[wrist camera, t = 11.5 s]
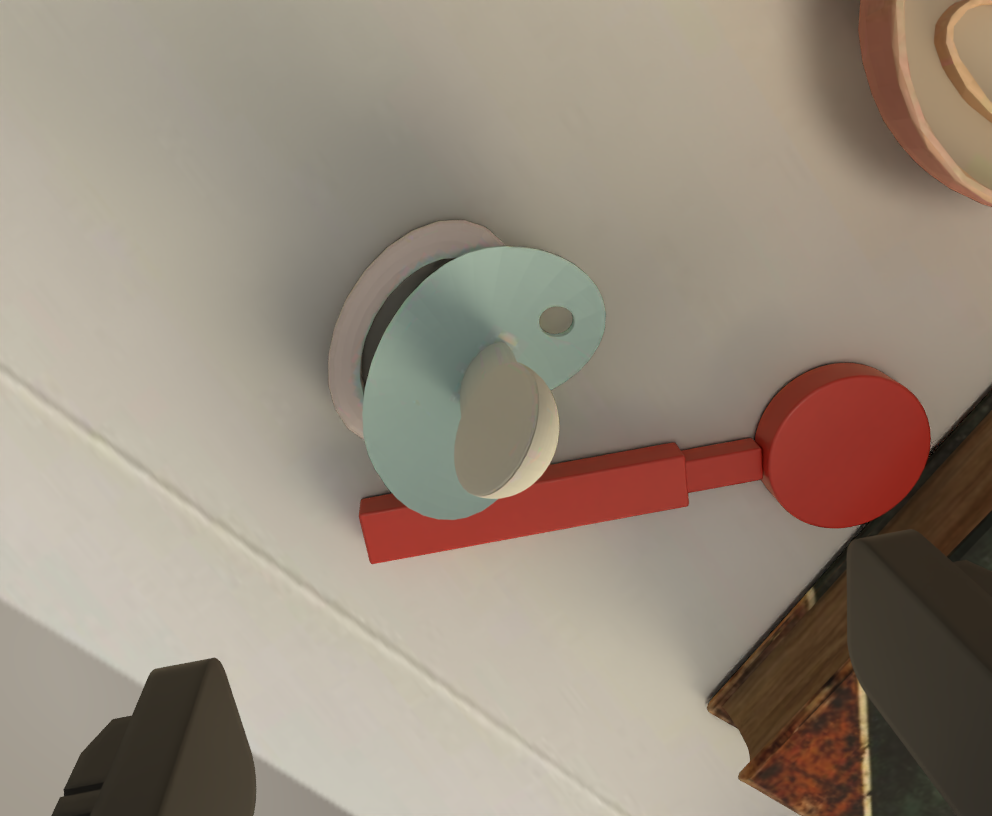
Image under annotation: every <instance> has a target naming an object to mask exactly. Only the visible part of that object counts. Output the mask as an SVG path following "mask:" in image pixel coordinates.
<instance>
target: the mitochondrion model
mask: <svg viewBox="0 0 992 816" xmlns="http://www.w3.org/2000/svg"><path fill="white" fill-rule="evenodd" d="M858 32H859V39H860V47H861V54H862V62H863V66H864V70H865V73H866V76H867V80H868V83H869V86H870V90H871V93H872V96H873V98H874V100H875V103H876V105H877V107H878V110H879V112H880V114H881V117H882V119H883V121H884V122H885V124H886V125H887V127H888V128H889V130H890V131H891V132H892V134H893V135H894V137H895V138H896V140H897V141H898V143H899V144H900V145H901V146H902V147H903V149H904V150H905V151H906V152H907V153H908V154H909V155H910V156H911V158H912V159H913V160H914V161H915V162H916V163H917V164H918V165H920V166H921V167H922V168H923V169H924V170H925V171H926V172H928V173H929V174H930V175H931V176H932V177H934V178H935V179H937V180H938V181H940V182H941V183H943V184H944V185H946V186H947V187H949V188H950V189H952V190H954V191H956V192H958V193H960V194H962V195H964V196H967V197H969V198H971V199H973V200H975V201H977V202H979V203H981V204H984V205H987V206H991V207H992V0H860V12H859V27H858Z"/></svg>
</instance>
